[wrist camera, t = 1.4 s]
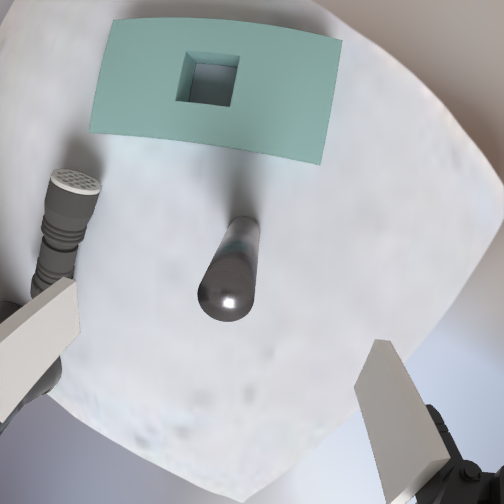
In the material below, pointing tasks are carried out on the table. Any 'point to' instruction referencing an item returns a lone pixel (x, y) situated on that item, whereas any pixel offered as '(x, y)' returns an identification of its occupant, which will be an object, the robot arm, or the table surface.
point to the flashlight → (63, 225)
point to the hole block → (244, 93)
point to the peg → (232, 273)
